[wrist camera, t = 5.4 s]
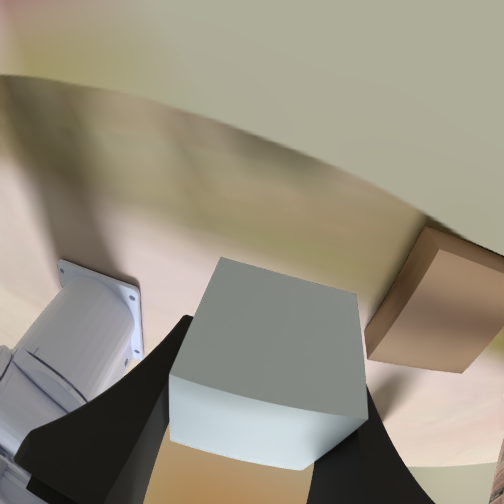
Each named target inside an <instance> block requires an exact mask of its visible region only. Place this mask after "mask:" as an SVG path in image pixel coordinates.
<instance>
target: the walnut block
mask: <svg viewBox="0 0 504 504" xmlns="http://www.w3.org/2000/svg"><path fill="white" fill-rule="evenodd" d="M473 243H474V242H473ZM474 244H476V243H474ZM476 245H477V246H476ZM476 245H473V244H471V243H469V242H466V241H464V240H461V239H459V238H456V237H454V236H452V235H449V234H446V233H444V232H441V231H439V230H436V229H434V228H431V227H428V226H426V225H424V227H423V229H422V231H421V233H420V235H419V237H418V239H417V241H416V243H415V245H414V247H413V249H412V251H411V253H410V255H409V257H408V259H407V260H406V262H405V264H404V266H403V268H402V270H401V271H400V273H399V275H398V277H397V279H396V280H395V282H394V284H393V286H392V287H391V289H390V291H389V292H388V294H387V296H386V297H385V299H384V301H383V302H382V304H381V306H380V307H379V309H378V311H377V312H376V314H375V315H374V317H373V319H372V320H371V322H370V323H369V325H368V326H367V328H366V329H365V331H364V335H365V343H366V352H367V360H373V361H378V362H384V363H390V364H396V365H402V366H409V367H415V368H422V369H429V370H436V371H444V372H452V373H461V374H462V373H463V372H464V371H465V370H466V369H467V368H468V367H469V365H470V364H471V363H472V362H473V361H474V360H475V359H476V358H477V357H478V356H479V355H480V354H481V352H482V351H483V350H484V349H485V348H486V347H487V346H488V345H489V343H490V342H491V341H492V340H493V339H494V337H495V336H496V335H497V334H498V333H499V331H500V330H501V329H502V328H503V326H504V256H503V255H501V254H499V253H497V252H494V251H492V250H490V249H488V248H485V247H483V246H481V245H479V244H476ZM478 246H479V247H478ZM480 247H481V248H480Z"/></svg>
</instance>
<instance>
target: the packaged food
mask: <svg viewBox="0 0 504 504" xmlns="http://www.w3.org/2000/svg"><path fill="white" fill-rule="evenodd" d="M489 504H504V439H503V443H502V446H501V450H500V454H499V458H498V463H497V467H496V472H495V476H494V481H493V486H492V490H491V495H490V500H489Z"/></svg>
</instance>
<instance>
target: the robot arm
mask: <svg viewBox="0 0 504 504" xmlns="http://www.w3.org/2000/svg"><path fill="white" fill-rule="evenodd" d="M57 266H58V270H59V275H60V279H61V284H62V288H63V289H62V290H61V291H60V292H59V293H58V294H57V295H56V297H55V298H54V299H53V300H52V301H51V302H50V304H49V305H48V306H47V307H46V308H45V310H44V311H43V312H42V313H41V314H40V316H39V317H38V318H37V319H36V320H35V322H34V323H33V324H32V325H31V327H30V328H29V329H28V330H27V332H26V333H25V334H24V336H23V337H22V338H21V339H20V341H19V342H18V343H17V345H16V346H15V347H14V349H9V348H8V347H7V346H6V345H2V346H0V504H143V501H144V498H145V494H146V491H147V487H148V484H149V480H150V477H151V474H152V470H153V467H154V464H155V460H156V458H157V455H158V451H159V449H160V445H161V442H162V439H163V436H164V434H165V431H166V429H167V426H168V424H169V422H170V419H169V373H170V371H171V369H172V366H173V364H174V362H175V359H176V357H177V355H178V352H179V350H180V348H181V345H182V343H183V341H184V338H185V336H186V334H187V331H188V329H189V327H190V325H191V322H192V320H193V318H194V317H192V316H189V315H184V316H183V317H182V318H181V319H180V321H179V322H178V323H177V324H176V326H175V327H174V328H173V329H172V331H171V332H170V333H169V334H168V335H167V336H166V337H165V338H164V339H163V341H162V342H161V343H160V344H159V345H158V346H157V347H156V348H155V349H154V350H153V351H152V352H151V353H150V354H149V355H148V356H147V357H146V358H145V359H143V358H144V352H143V340H142V327H141V311H140V292H139V290H138V288H137V287H135V286H133V285H130V284H128V283H125V282H122V281H119V280H116V279H113V278H111V277H108V276H105V275H102V274H100V273H97V272H94V271H92V270H89V269H86V268H84V267H81V266H78V265H76V264H73V263H71V262H68V261H65V260H63V259H60V260H59V261H58V262H57ZM132 359H136V360H139V361H141V362H140V363H139V364H138V365H137V366H136V367H134V368H133V369H132V370H131V371H130V372H129V373H128V374H126V375H125V376H124V374H125V372H126V370H127V368H128V366H129V364H130V362H131V360H132ZM123 376H124V377H123ZM366 390H367V406H368V420H366V421H365V422H364V423H363V424H362V425H361V426H359V427H358V428H357V429H356V430H355V431H353V432H352V433H351V434H350V435H349V436H347V437H346V438H345V439H344V440H342V441H341V442H340V443H339V444H337V445H336V446H335V447H333V448H332V449H331V450H329V451H328V452H327V453H325V454H324V455H323V456H321V457H320V458H319V459H317V460H316V461H314V470H313V476H312V480H311V486H310V490H309V495H308V499H307V503H306V504H435V503H434V502H433V501H432V500H431V498H430V497H429V496H428V495H427V494H426V493H425V491H424V490H423V489H422V488H421V486H420V485H419V484H418V483H417V481H416V480H415V478H414V477H413V476H412V474H411V473H410V471H409V470H408V468H407V467H406V465H405V464H404V462H403V461H402V459H401V457H400V456H399V454H398V452H397V451H396V449H395V447H394V445H393V443H392V441H391V440H390V438H389V436H388V434H387V431H386V429H385V427H384V425H383V423H382V421H381V419H380V416H379V414H378V412H377V409H376V407H375V404H374V402H373V400H372V397H371V395H370V392H369V390H368V387H367V385H366Z"/></svg>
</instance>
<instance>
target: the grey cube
mask: <svg viewBox="0 0 504 504" xmlns="http://www.w3.org/2000/svg"><path fill="white" fill-rule="evenodd" d="M169 419H170V440H171V441H173V442H177V443H180V444H183V445H186V446H190V447H193V448H196V449H199V450H203V451H206V452H210V453H214V454H218V455H222V456H226V457H230V458H234V459H238V460H243V461H247V462H253V463H257V464H263V465H268V466H274V467H280V468H287V469H294V470H303V469H304V468H306V467H307V466H309V465H310V464H311V463H313V462H314V461H316V460H317V459H319V458H320V457H321V456H323V455H324V454H325V453H327V452H328V451H329V450H331V449H332V448H333V447H335V446H336V445H337V444H339V443H340V442H341V441H342V440H344V439H345V438H346V437H347V436H349V435H350V434H351V433H352V432H353V431H355V430H356V429H357V428H358V427H359V426H361V425H362V424H363V423H364V422H365V421H366V420H368V406H367V390H366V376H365V365H364V354H363V345H362V336H361V327H360V319H359V311H358V304H357V297H356V294H354V293H350V292H347V291H343V290H339V289H335V288H332V287H328V286H324V285H321V284H317V283H313V282H310V281H306V280H302V279H299V278H295V277H291V276H288V275H284V274H280V273H277V272H273V271H270V270H266V269H262V268H259V267H255V266H252V265H248V264H244V263H241V262H237V261H234V260H230V259H227V258H223V257H220V260H219V262H218V264H217V266H216V268H215V271H214V273H213V275H212V277H211V280H210V282H209V284H208V286H207V288H206V291H205V293H204V295H203V297H202V300H201V302H200V304H199V306H198V309H197V311H196V313H195V315H194V318H193V320H192V322H191V325H190V327H189V329H188V331H187V334H186V336H185V338H184V341H183V343H182V345H181V348H180V350H179V352H178V355H177V357H176V359H175V362H174V364H173V366H172V369H171V371H170V373H169Z"/></svg>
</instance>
